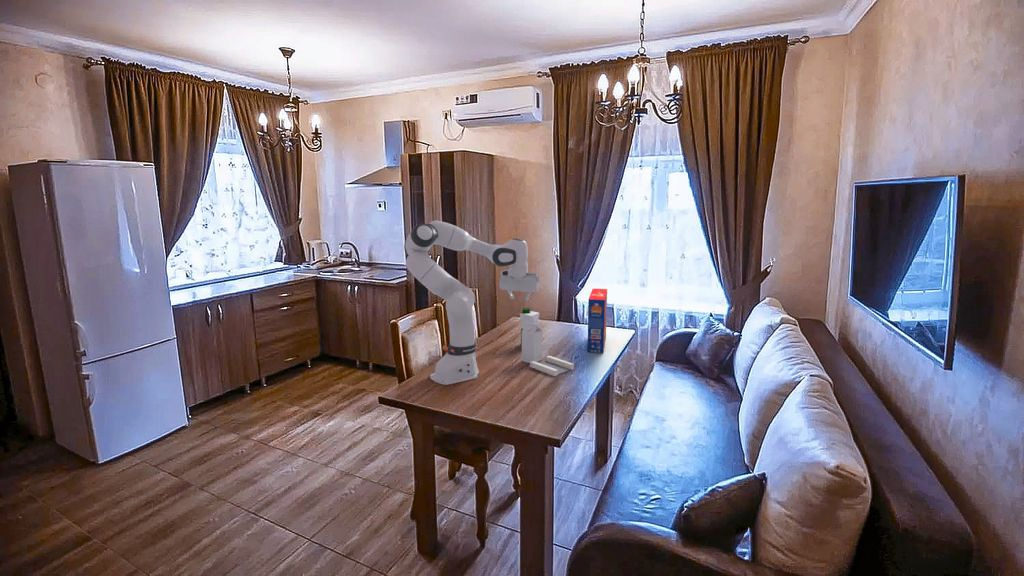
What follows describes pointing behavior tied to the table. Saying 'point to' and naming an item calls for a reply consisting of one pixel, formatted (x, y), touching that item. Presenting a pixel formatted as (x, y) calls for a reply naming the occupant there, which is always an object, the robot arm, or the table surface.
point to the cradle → (553, 366)
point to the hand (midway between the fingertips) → (519, 299)
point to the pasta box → (597, 320)
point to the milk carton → (531, 343)
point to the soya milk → (528, 318)
